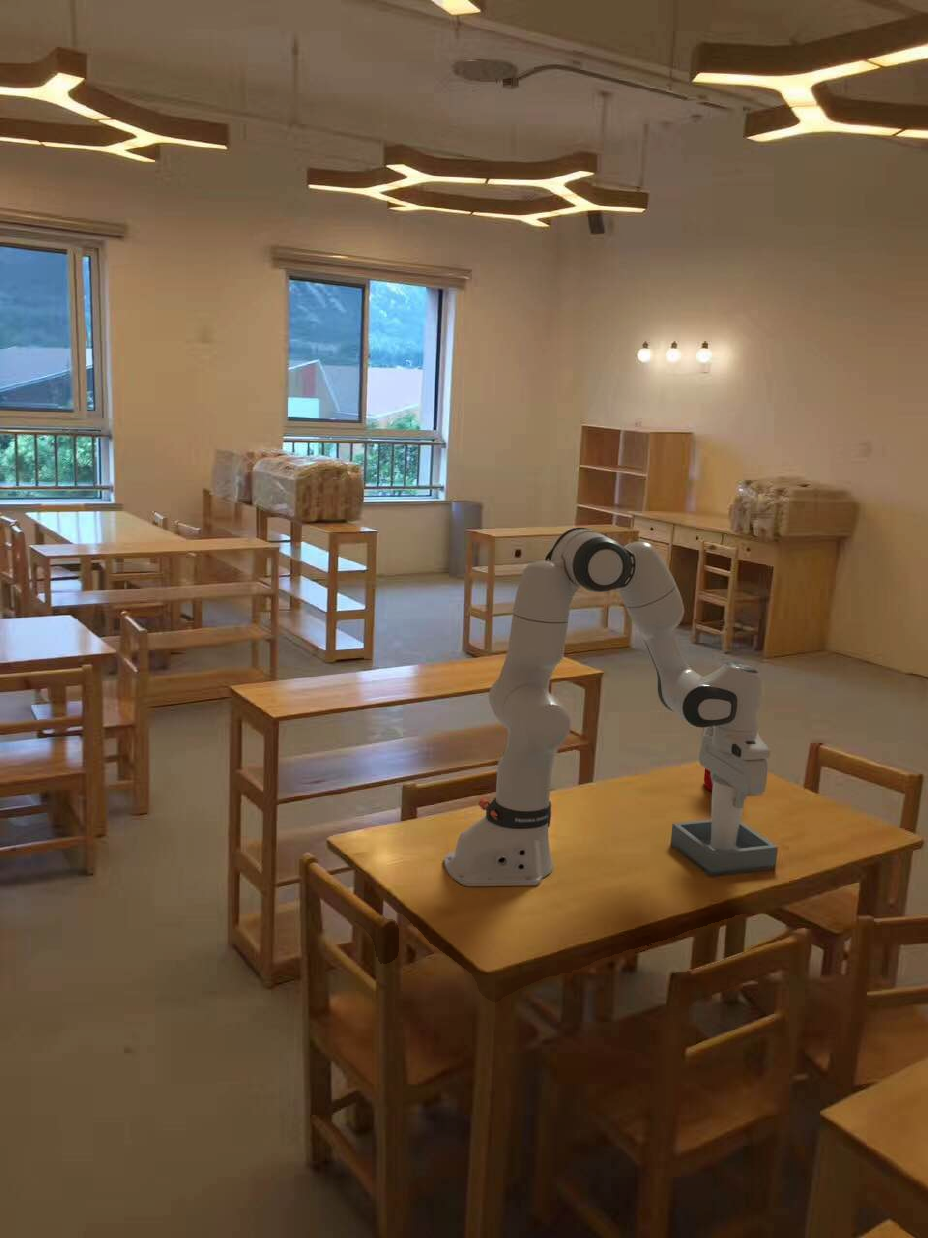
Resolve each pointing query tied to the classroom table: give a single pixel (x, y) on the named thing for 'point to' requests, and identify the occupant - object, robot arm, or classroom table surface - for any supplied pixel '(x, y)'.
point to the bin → (744, 858)
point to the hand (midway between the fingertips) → (727, 800)
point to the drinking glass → (724, 816)
